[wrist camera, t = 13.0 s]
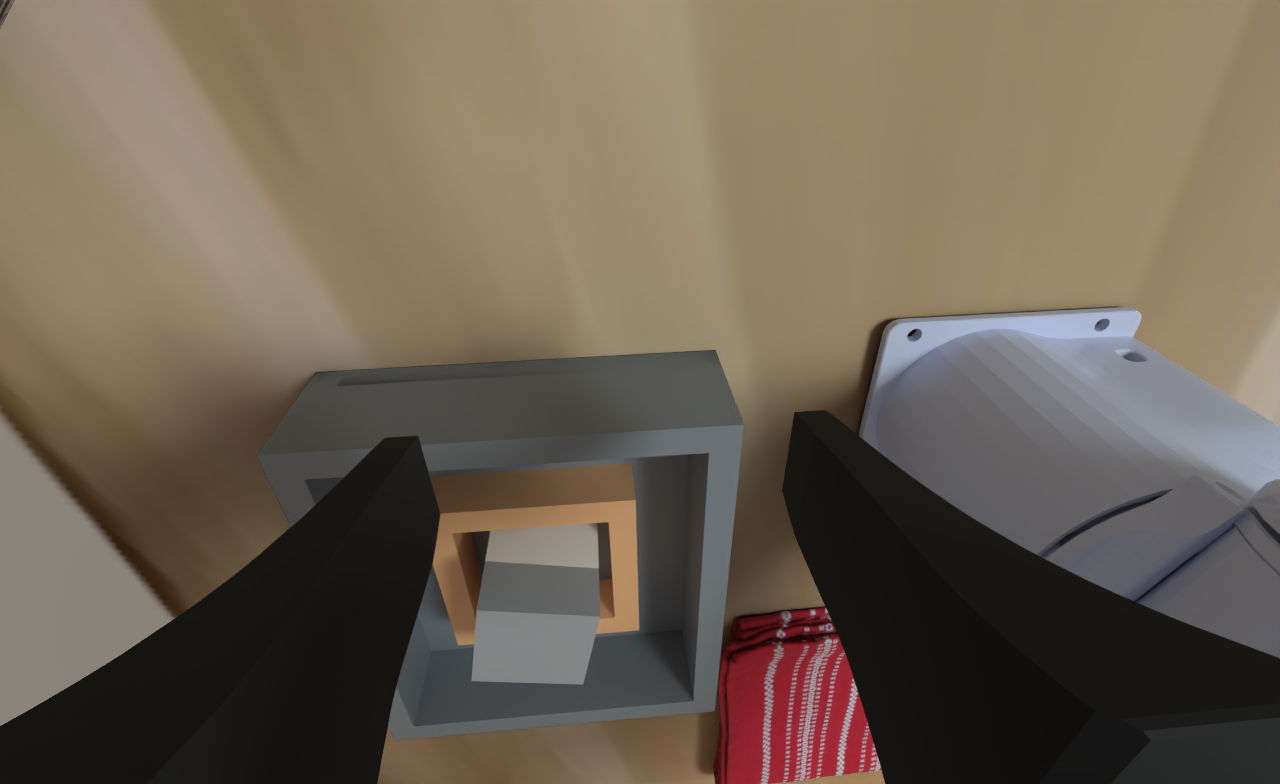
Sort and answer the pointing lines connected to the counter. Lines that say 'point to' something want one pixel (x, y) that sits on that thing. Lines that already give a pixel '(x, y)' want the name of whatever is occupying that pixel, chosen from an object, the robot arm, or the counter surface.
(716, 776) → the dish towel
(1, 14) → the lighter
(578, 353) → the counter surface
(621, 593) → the box
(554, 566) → the grey block
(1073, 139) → the counter surface
